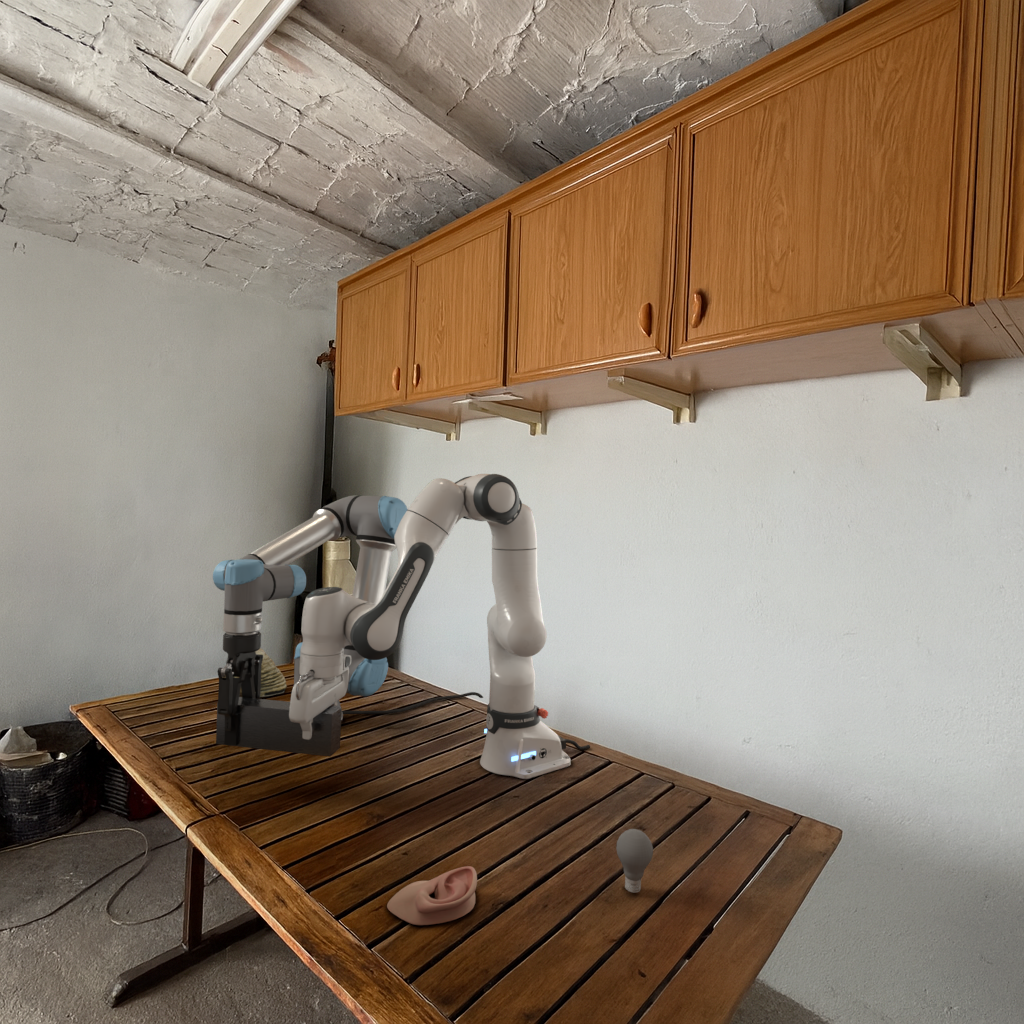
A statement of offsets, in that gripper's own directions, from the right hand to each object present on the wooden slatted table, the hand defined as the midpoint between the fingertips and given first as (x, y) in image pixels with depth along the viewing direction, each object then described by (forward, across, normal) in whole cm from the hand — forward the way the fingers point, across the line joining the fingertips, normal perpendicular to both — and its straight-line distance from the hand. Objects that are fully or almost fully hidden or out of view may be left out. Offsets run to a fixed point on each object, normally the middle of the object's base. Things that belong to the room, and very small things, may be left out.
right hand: (318, 730), depth 133 cm
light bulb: (+14, -18, -65) cm, 69 cm away
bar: (+4, 0, +9) cm, 10 cm away
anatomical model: (+14, -29, -34) cm, 47 cm away
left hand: (+4, 0, +18) cm, 19 cm away
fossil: (+14, +58, +48) cm, 77 cm away
